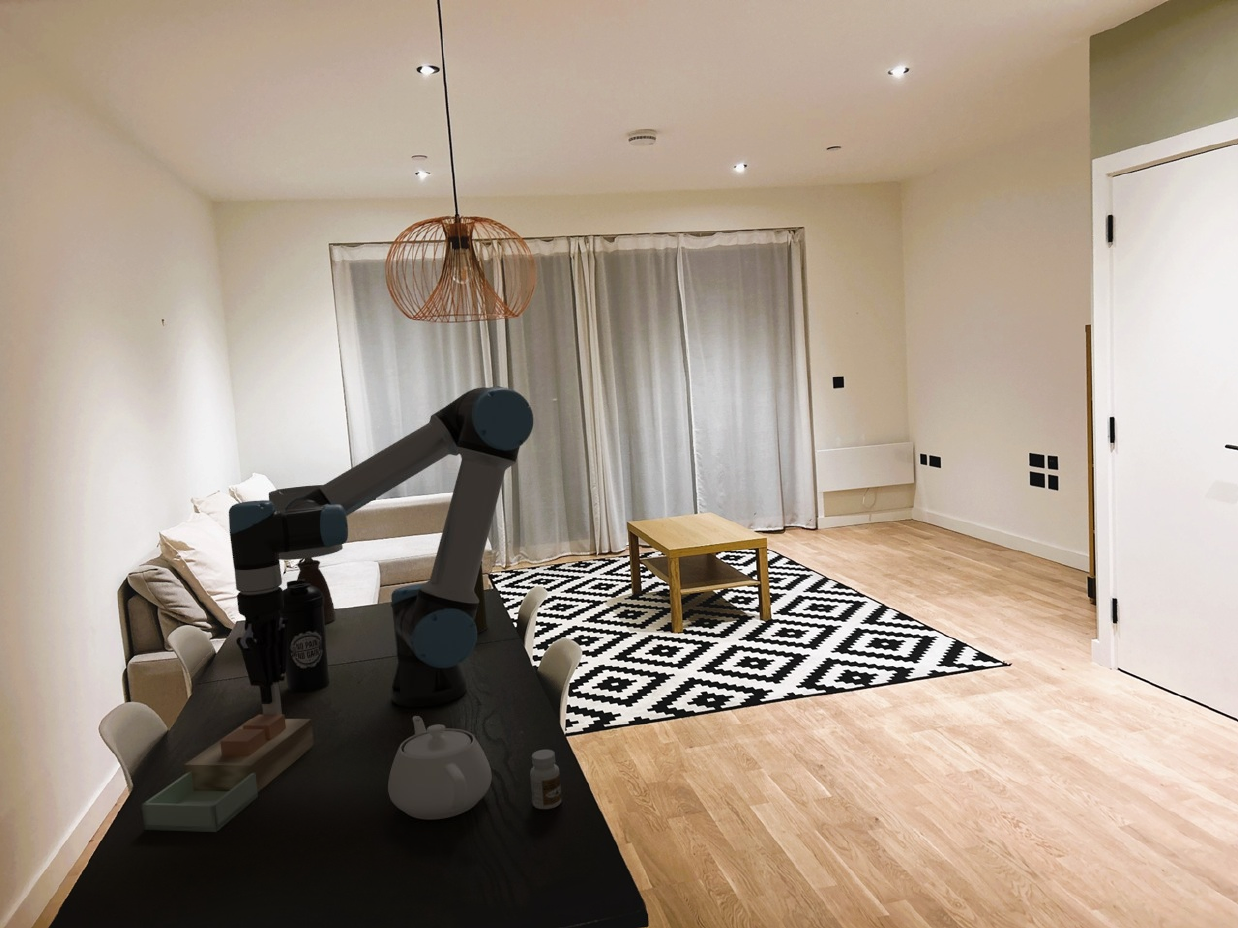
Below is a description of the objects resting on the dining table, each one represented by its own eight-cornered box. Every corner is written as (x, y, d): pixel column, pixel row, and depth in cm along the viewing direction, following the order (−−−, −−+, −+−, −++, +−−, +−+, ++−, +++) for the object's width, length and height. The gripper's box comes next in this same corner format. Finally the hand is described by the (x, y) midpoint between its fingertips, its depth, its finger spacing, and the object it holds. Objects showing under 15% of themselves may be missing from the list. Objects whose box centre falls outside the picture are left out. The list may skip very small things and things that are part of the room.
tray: (258, 796, 147) (255, 772, 146) (216, 831, 136) (213, 806, 135) (191, 795, 149) (188, 771, 148) (145, 829, 138) (141, 804, 138)
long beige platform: (313, 745, 166) (311, 718, 165) (254, 794, 147) (250, 765, 147) (254, 744, 168) (250, 718, 167) (187, 793, 149) (184, 764, 149)
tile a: (286, 728, 162) (284, 714, 161) (270, 739, 157) (268, 725, 156) (260, 727, 163) (258, 714, 162) (243, 739, 158) (242, 725, 157)
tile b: (266, 743, 155) (264, 729, 155) (249, 755, 151) (247, 741, 150) (239, 742, 156) (237, 728, 156) (221, 755, 152) (220, 741, 151)
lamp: (363, 613, 257) (350, 484, 253) (317, 633, 240) (302, 494, 236) (312, 610, 265) (299, 484, 261) (264, 629, 248) (248, 495, 244)
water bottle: (287, 697, 192) (275, 591, 190) (281, 684, 201) (269, 582, 199) (337, 687, 197) (325, 582, 194) (328, 674, 206) (317, 574, 203)
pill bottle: (550, 812, 135) (546, 762, 134) (526, 806, 137) (522, 757, 136) (567, 799, 138) (563, 750, 137) (544, 794, 141) (540, 745, 140)
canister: (448, 626, 239) (441, 551, 237) (488, 622, 240) (482, 547, 238) (445, 638, 228) (438, 559, 226) (487, 633, 229) (480, 555, 227)
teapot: (516, 821, 133) (510, 740, 132) (410, 851, 126) (403, 766, 125) (464, 760, 155) (459, 690, 154) (372, 783, 148) (366, 710, 147)
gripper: (261, 580, 167) (274, 704, 170) (217, 599, 155) (232, 732, 157) (298, 580, 166) (311, 705, 168) (257, 598, 153) (271, 733, 156)
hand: (273, 718), depth 163 cm, fingers closed
